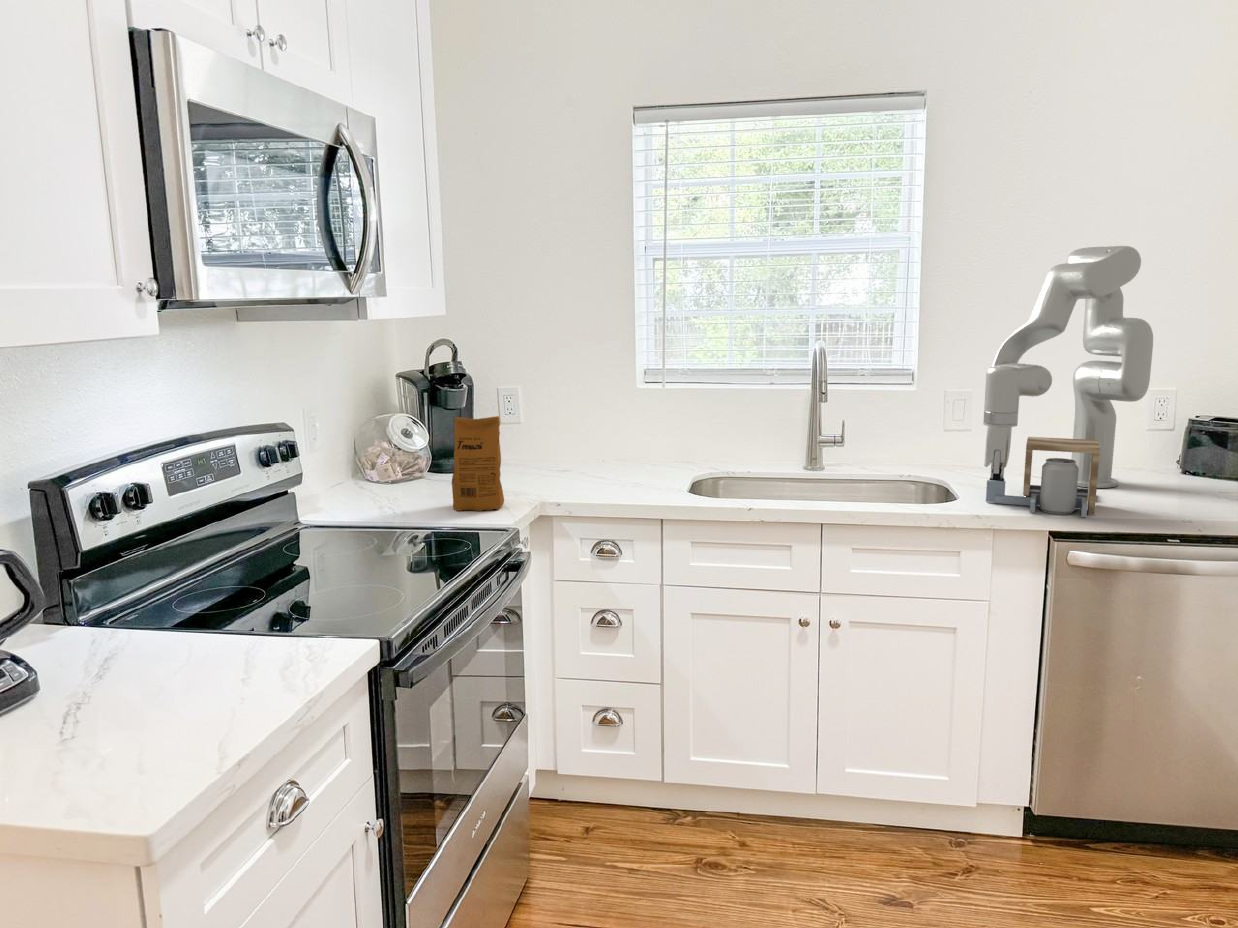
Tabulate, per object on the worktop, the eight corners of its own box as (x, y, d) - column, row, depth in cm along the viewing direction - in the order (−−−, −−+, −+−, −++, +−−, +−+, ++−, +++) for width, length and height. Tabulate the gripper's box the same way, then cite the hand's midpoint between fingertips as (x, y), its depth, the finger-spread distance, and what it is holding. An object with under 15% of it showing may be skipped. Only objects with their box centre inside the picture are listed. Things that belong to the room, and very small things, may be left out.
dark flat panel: (1025, 489, 236) (1025, 484, 235) (1091, 494, 229) (1092, 489, 229) (1023, 496, 228) (1024, 491, 228) (1092, 501, 222) (1093, 495, 222)
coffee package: (456, 502, 230) (452, 414, 226) (506, 502, 230) (503, 413, 226) (448, 512, 220) (444, 419, 216) (501, 511, 220) (498, 419, 216)
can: (1078, 516, 208) (1082, 463, 206) (1042, 514, 210) (1046, 462, 208) (1071, 508, 215) (1075, 457, 213) (1036, 507, 217) (1039, 456, 215)
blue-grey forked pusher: (986, 500, 224) (987, 479, 223) (1085, 507, 215) (1087, 486, 214) (983, 508, 215) (984, 487, 214) (1086, 517, 206) (1088, 494, 205)
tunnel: (1023, 498, 226) (1028, 436, 223) (1092, 504, 220) (1097, 440, 217) (1022, 509, 215) (1026, 444, 212) (1094, 515, 209) (1099, 448, 206)
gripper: (986, 414, 230) (981, 487, 233) (981, 422, 216) (976, 499, 220) (1019, 415, 226) (1014, 489, 230) (1016, 423, 213) (1011, 502, 217)
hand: (996, 494), depth 225 cm, fingers closed
